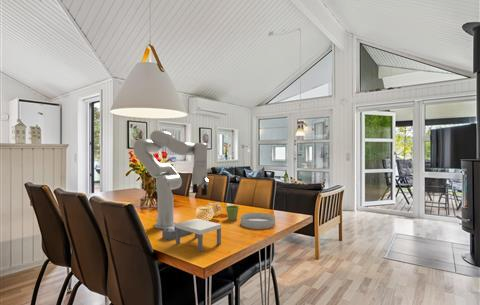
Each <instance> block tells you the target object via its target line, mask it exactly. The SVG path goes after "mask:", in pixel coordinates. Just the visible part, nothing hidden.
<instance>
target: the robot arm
mask: <svg viewBox="0 0 480 305" xmlns="http://www.w3.org/2000/svg"><path fill="white" fill-rule="evenodd" d="M149 136H150V137H149V138H139V139H137V140H135V141H134V143H133V148H132V149H133V153H134V155H135V157H136V159H137V160H138V161H139V162H140V163H141V164H142V165H143V167H144V168H145V170H146V171H147V172H148V173H149V175H150V176H151V177H152V178H155V179H156V181H155V187H156V188H155V189H156V192H157V218H155V222H156V223H155V224H154V228H155V229H157V230H159V229H160V230H164V229H168V228H169V227H175V226H176V224H177V222H176V223H175V222H174V211H175V210H174V203H175V202H174V194H173V192H172V190H176V189H180V187H182V183H183V180H182V177H181V175H180V174H179V173H178V172H177V171H176V169H175V167H173V166H172V164H171V163H169V162H160V161H158V159H156V157H155V156H154V154H152V153H154V152H158V151H160V150H161V149H163V148H166V149H168V150H169V151H171V152H172V153H175V154H177V155H181V156H193V166H192V174H191V185H192V193H193V194H197V193H199V186H200V185H201V187H202V188H201V196H207V195H208V187H209V184H210V181H209V179H208V167H207V166H208V145H207V143H206V142H189V141H187V142H186V141H185V142H184V141H181V140H179V139H177V137H176V136H175V135H173V134H171V133H170V132H169V131H166V130H158V129H157V130H153V131H152V132H151V133H150V135H149ZM150 152H152V153H150Z"/></svg>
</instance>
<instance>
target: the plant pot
mask: <svg viewBox="0 0 480 305" xmlns="http://www.w3.org/2000/svg"><path fill="white" fill-rule="evenodd" d="M239 209H240V206H239V205H226V206H225V210H226V213H227V220H229V221H236V220H237V219H238V214H239V212H238V211H239Z"/></svg>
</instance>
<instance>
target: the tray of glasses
mask: <svg viewBox="0 0 480 305" xmlns="http://www.w3.org/2000/svg"><path fill="white" fill-rule="evenodd" d="M161 230H162V232H161V233H162V235H161V236H162V237H161V238H162V239H164V238H165V240H167V239H168V241H172V239H173V240H176V226H175V227H169V228H168V229H161ZM191 234H193V233H192V232H189V231H186V230H182V229H180V238H181V237H185V236H188V235H191Z"/></svg>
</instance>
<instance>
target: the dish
mask: <svg viewBox="0 0 480 305" xmlns="http://www.w3.org/2000/svg"><path fill="white" fill-rule="evenodd" d="M275 219H276V218H275V216H274V215H273V214H270V213H264V212H248V213H244V214H242V215H241V216H240V226H242V227H245V228H248V229H255V230H261V229H270V228H273V227H275V226H276V222H275V221H276V220H275Z"/></svg>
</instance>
